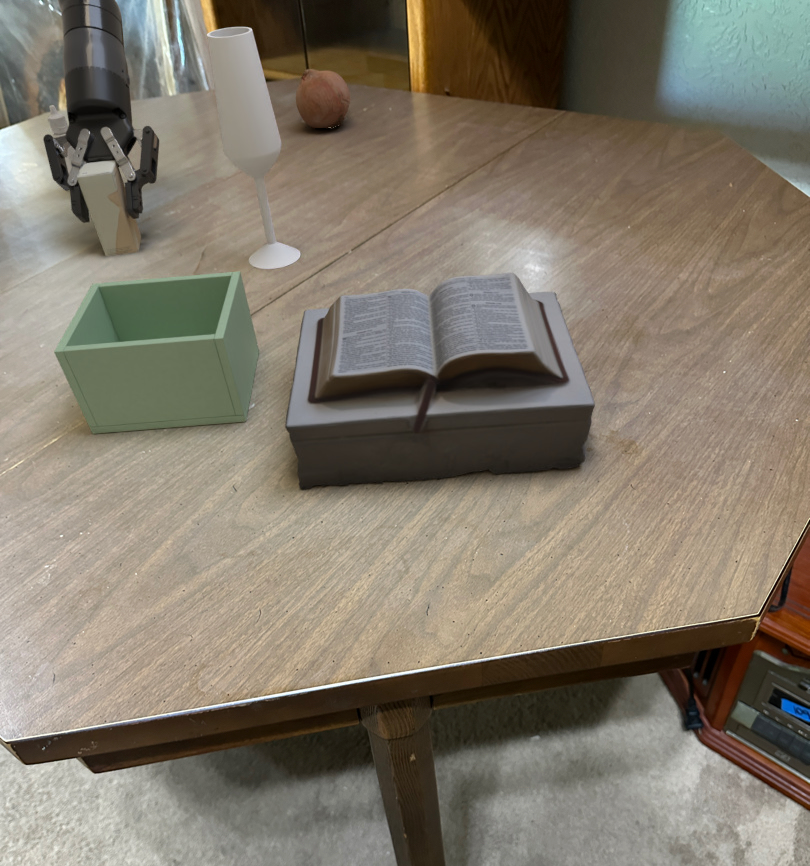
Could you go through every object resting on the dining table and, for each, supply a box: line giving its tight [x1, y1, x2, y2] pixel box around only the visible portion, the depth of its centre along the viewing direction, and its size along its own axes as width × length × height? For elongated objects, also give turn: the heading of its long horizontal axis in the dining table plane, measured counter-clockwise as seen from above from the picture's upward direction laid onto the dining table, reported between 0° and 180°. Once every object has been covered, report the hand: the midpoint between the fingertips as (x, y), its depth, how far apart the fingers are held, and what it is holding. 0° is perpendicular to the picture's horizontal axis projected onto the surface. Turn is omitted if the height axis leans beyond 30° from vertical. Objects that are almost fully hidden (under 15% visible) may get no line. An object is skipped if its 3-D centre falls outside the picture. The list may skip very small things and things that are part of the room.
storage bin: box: [53, 270, 260, 435], centre depth 69 cm, size 15×13×9 cm
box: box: [77, 160, 142, 257], centre depth 91 cm, size 5×4×11 cm
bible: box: [284, 272, 596, 490], centre depth 63 cm, size 23×27×10 cm
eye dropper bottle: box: [46, 104, 86, 174], centre depth 109 cm, size 4×6×12 cm
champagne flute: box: [206, 26, 301, 270], centre depth 83 cm, size 7×7×24 cm
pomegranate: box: [295, 68, 351, 129], centre depth 125 cm, size 10×9×10 cm
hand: (108, 217), depth 90 cm, fingers open, 5 cm apart
